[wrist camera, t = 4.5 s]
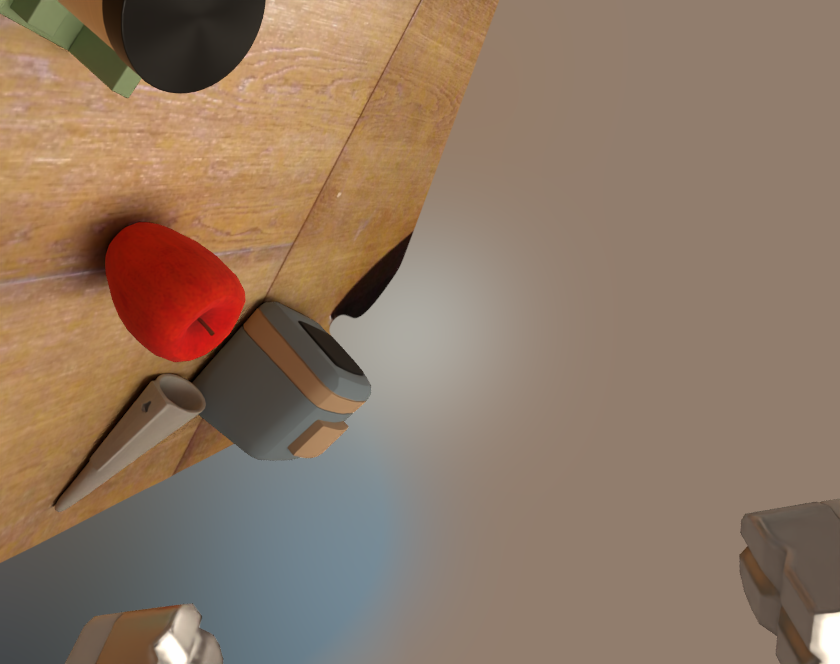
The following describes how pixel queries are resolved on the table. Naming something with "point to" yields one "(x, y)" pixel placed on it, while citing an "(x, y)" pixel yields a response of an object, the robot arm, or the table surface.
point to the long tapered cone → (137, 432)
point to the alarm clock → (281, 386)
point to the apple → (171, 291)
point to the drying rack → (73, 40)
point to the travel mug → (174, 37)
